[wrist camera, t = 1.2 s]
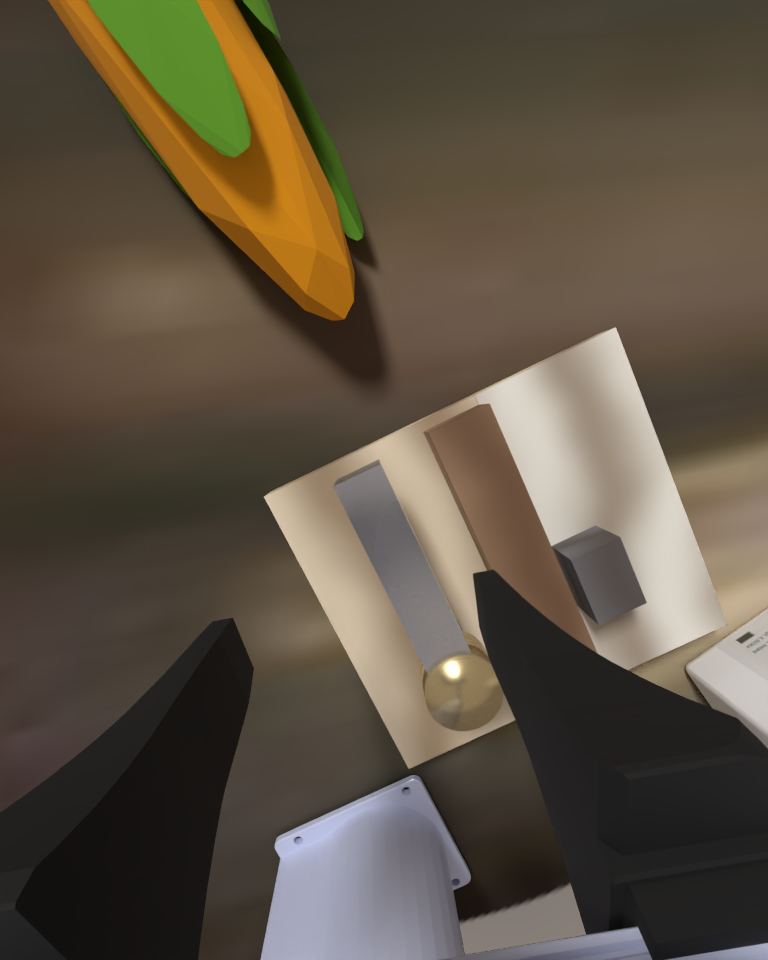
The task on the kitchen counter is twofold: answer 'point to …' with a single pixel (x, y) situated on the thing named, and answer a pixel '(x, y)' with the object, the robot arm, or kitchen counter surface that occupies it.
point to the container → (738, 675)
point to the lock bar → (421, 605)
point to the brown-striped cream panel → (514, 528)
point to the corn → (231, 132)
